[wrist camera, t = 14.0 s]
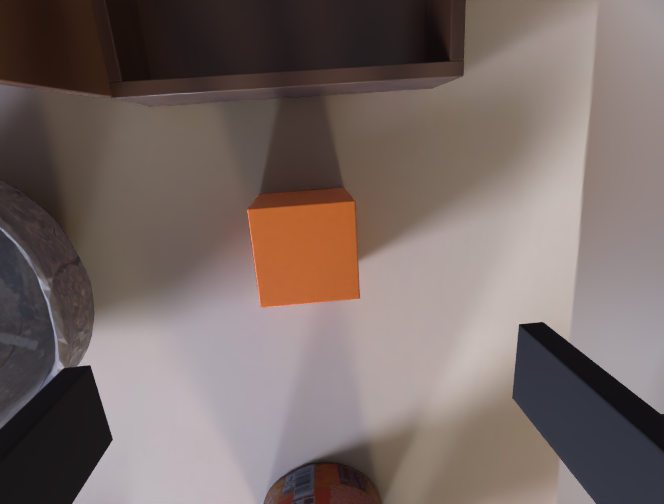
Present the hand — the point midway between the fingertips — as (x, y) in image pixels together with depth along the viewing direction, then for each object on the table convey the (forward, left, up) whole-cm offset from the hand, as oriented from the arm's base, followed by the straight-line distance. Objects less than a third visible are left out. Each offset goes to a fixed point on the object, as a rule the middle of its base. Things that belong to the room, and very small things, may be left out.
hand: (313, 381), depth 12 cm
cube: (0, 0, -21) cm, 21 cm away
